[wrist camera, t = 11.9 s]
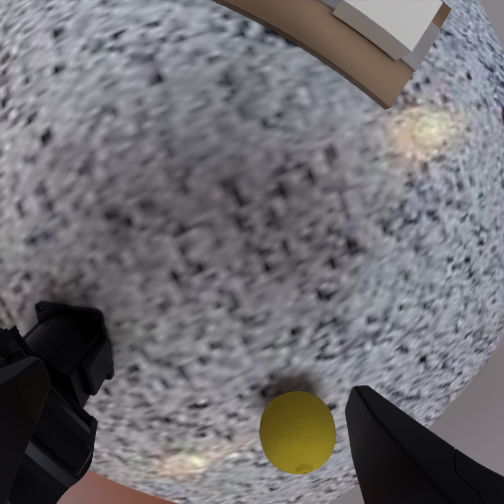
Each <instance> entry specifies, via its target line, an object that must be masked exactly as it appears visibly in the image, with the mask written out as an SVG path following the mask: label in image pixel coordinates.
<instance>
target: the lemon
mask: <svg viewBox="0 0 504 504" xmlns="http://www.w3.org/2000/svg"><path fill="white" fill-rule="evenodd" d="M259 434H260V440H261V444H262V447H263V450H264V453H265V455H266V457H267V458H268V460H269V461H270V462H271V463H272V464H273V465H274V466H275V467H277V468H278V469H280V470H282V471H284V472H287V473H291V474H302V475H304V474H308V473H309V472H312V471H314V470H316V469H318V468H319V467H321V466H322V465H323V464H324V463H325V462H326V461H327V460H328V459H329V457H330V456H331V454H332V452H333V450H334V446H335V440H336V429H335V424H334V419H333V416H332V414H331V412H330V410H329V408H328V407H327V406H326V404H325V403H324V402H323V401H322V400H321V399H320V398H318V397H317V396H315V395H313V394H311V393H308V392H304V391H291V392H287V393H284V394H281V395H279V396H278V397H276V398H275V399H273V400H272V401H271V402H270V403H269V404H268V406H267V407H266V409H265V410H264V412H263V414H262V417H261V422H260V429H259Z"/></svg>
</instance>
